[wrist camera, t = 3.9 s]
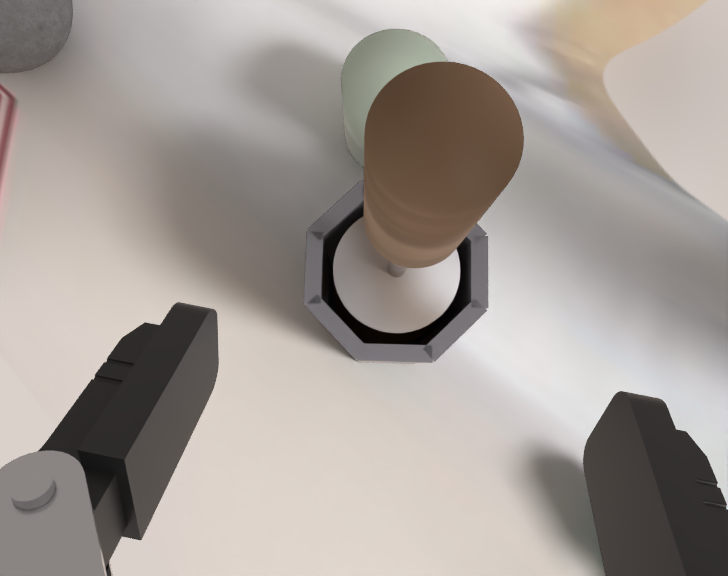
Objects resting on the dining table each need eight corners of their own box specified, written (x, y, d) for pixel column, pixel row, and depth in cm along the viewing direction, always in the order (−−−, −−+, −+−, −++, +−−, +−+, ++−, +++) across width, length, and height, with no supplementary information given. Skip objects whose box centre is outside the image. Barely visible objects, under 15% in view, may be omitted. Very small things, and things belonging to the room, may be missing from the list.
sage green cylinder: (391, 72, 44) (397, 7, 36) (454, 134, 43) (475, 82, 35) (326, 131, 43) (318, 78, 35) (389, 194, 42) (395, 155, 35)
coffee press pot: (422, 173, 43) (444, 103, 31) (514, 265, 42) (572, 227, 30) (293, 293, 41) (267, 265, 30) (385, 391, 40) (394, 401, 29)
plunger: (397, 185, 31) (445, -57, 13) (484, 273, 30) (656, 141, 13) (307, 268, 30) (231, 130, 13) (394, 359, 30) (442, 350, 12)
